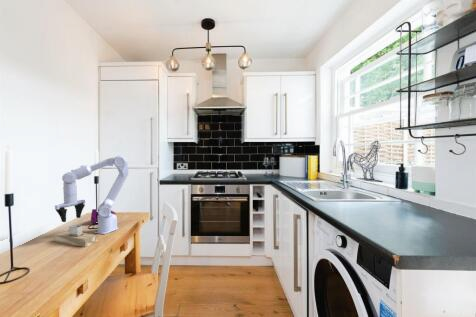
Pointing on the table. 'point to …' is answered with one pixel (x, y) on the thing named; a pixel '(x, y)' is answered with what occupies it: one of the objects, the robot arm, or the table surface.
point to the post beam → (76, 239)
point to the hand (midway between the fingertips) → (71, 219)
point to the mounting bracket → (96, 216)
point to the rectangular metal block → (75, 230)
